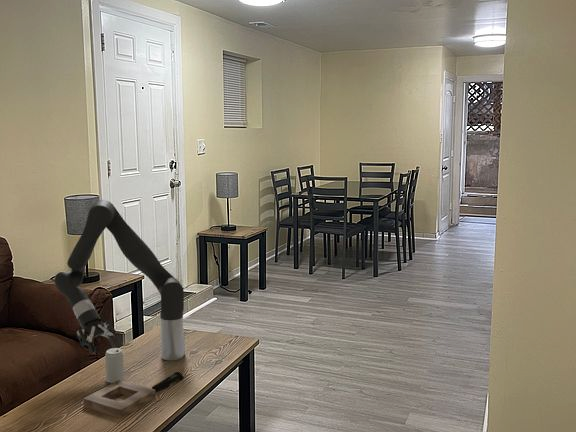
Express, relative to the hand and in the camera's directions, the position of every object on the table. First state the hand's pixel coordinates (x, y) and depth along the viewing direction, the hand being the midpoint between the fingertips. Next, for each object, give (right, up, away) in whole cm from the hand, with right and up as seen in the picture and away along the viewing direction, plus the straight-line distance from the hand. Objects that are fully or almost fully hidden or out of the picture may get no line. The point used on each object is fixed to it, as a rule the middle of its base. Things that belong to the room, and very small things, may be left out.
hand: (104, 348), depth 219 cm
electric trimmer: (+25, -13, -5) cm, 29 cm away
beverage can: (+4, -12, -2) cm, 13 cm away
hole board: (+11, -14, -19) cm, 26 cm away
